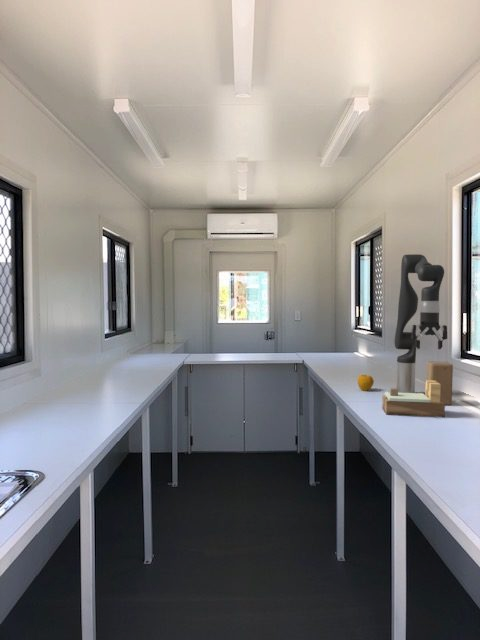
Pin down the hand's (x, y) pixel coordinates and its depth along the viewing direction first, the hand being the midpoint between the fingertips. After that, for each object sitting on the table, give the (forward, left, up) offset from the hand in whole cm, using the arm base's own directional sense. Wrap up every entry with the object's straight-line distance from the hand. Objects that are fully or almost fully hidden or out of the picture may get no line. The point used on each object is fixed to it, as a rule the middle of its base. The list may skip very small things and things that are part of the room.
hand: (428, 349), depth 194 cm
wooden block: (-27, +12, -30) cm, 42 cm away
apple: (-52, -20, -30) cm, 63 cm away
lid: (-5, -8, -23) cm, 25 cm away
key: (-5, +3, -23) cm, 24 cm away
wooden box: (-5, -5, -29) cm, 30 cm away
